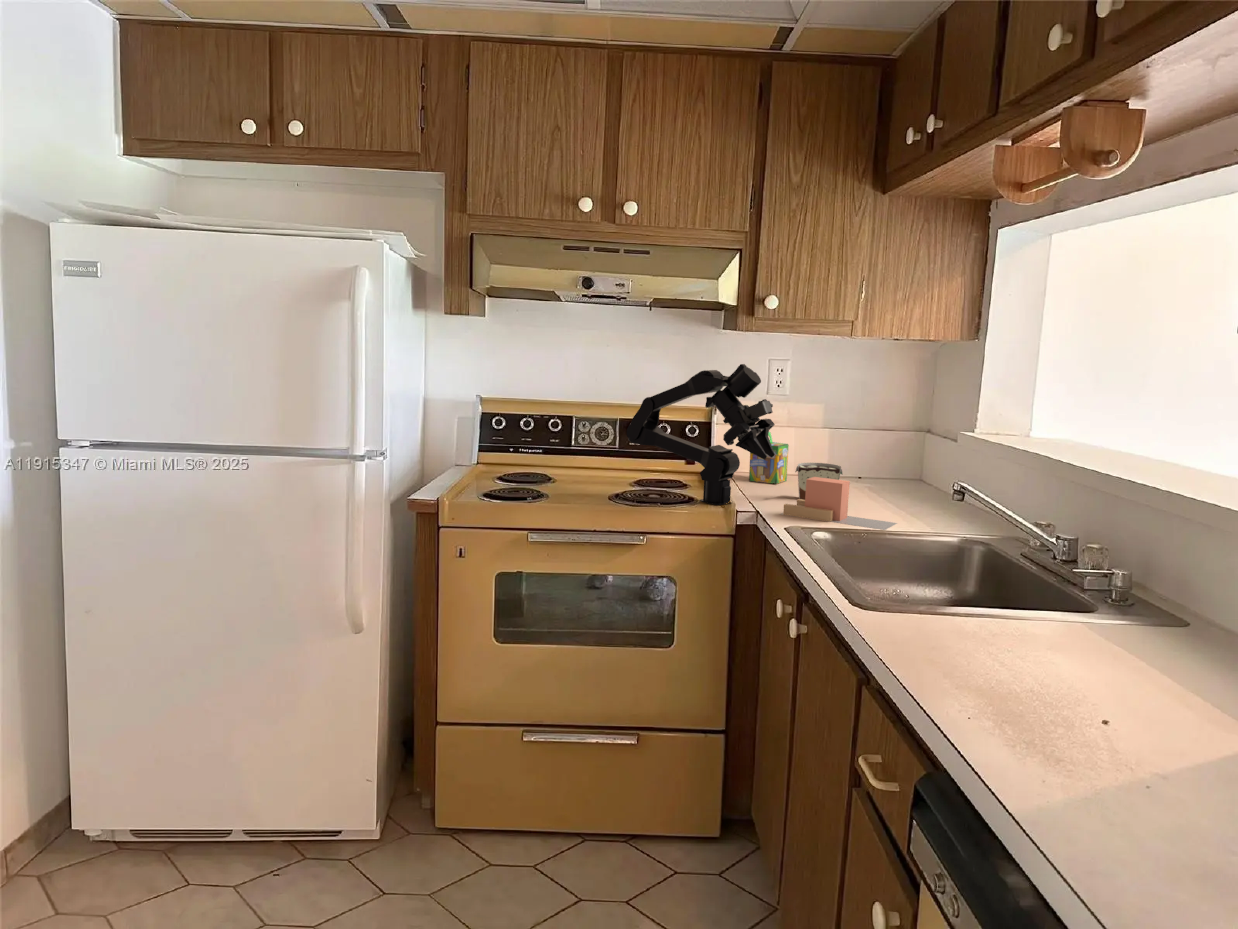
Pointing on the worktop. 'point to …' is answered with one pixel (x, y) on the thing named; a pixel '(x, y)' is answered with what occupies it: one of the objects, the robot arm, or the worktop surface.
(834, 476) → the food container
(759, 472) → the chalk box
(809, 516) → the chute
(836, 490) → the block
